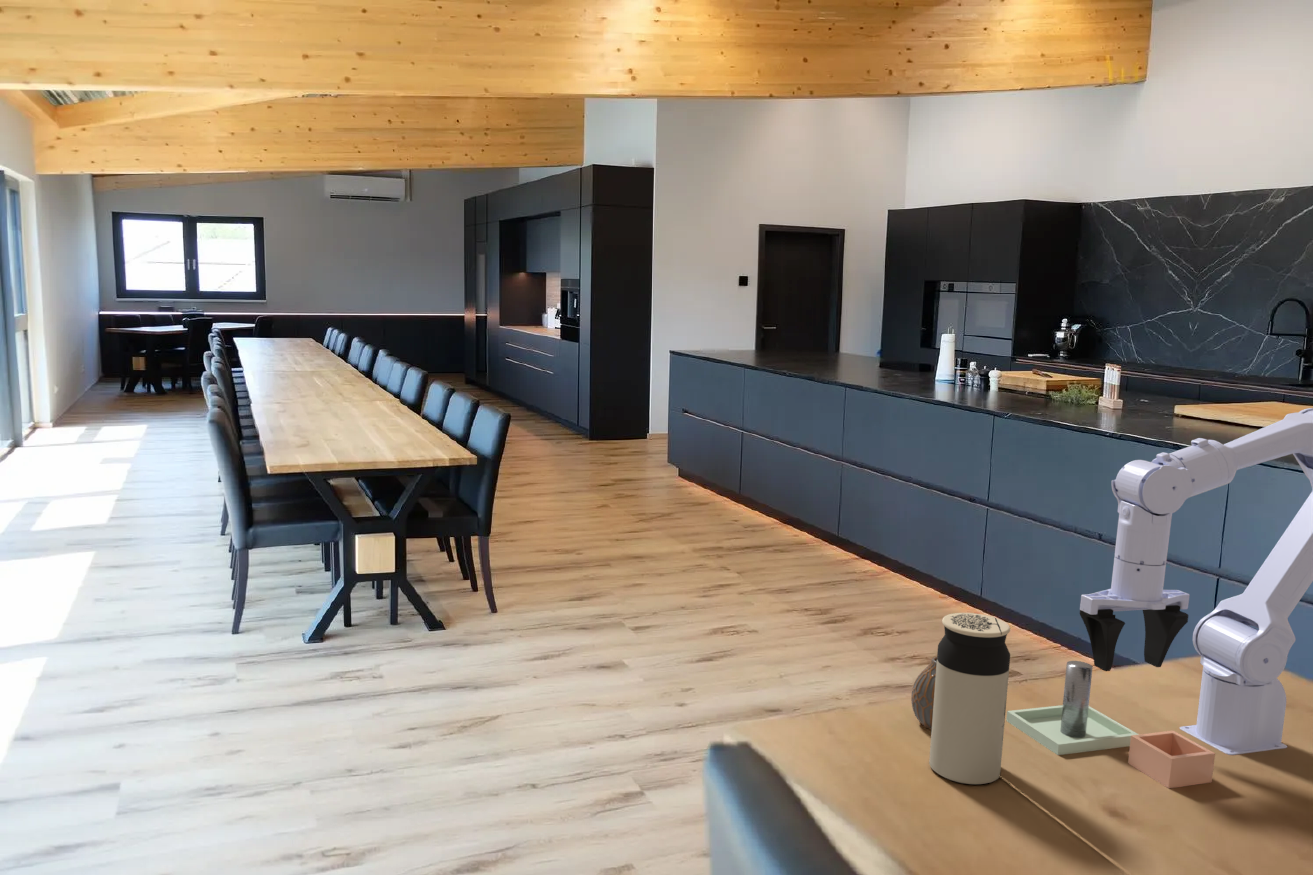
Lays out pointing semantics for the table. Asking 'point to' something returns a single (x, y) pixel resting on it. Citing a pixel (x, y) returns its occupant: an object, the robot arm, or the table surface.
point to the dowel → (1076, 699)
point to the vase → (924, 694)
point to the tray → (1047, 732)
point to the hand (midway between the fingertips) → (1127, 666)
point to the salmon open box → (1171, 759)
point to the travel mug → (970, 698)
